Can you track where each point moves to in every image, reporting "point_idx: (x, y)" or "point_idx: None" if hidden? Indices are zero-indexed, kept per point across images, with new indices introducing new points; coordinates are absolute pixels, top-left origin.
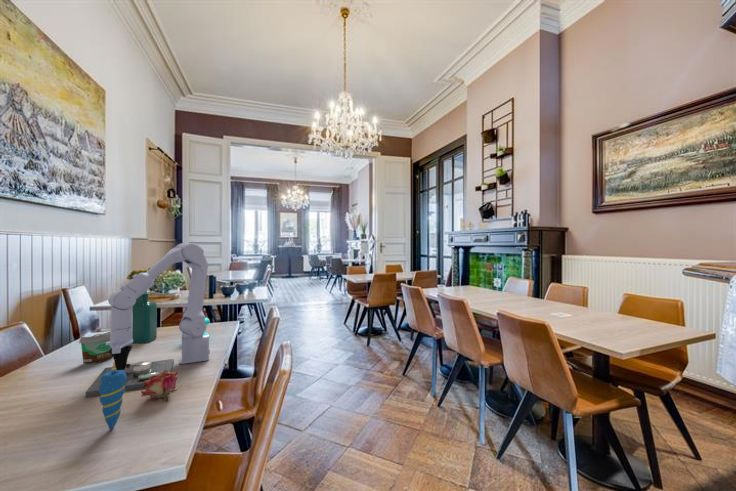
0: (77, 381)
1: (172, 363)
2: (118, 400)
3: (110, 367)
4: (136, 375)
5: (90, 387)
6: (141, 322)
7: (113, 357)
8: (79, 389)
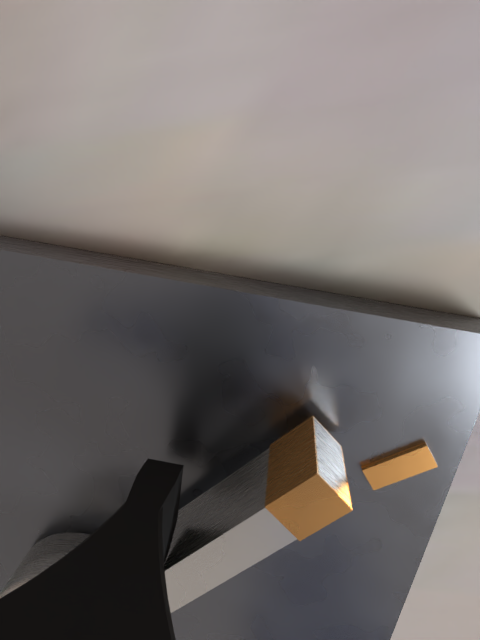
0: (349, 71)
1: None
2: None
3: (476, 385)
4: (28, 552)
5: None
6: None
7: (41, 575)
8: (66, 133)
